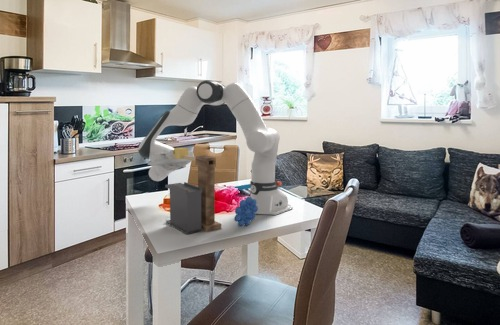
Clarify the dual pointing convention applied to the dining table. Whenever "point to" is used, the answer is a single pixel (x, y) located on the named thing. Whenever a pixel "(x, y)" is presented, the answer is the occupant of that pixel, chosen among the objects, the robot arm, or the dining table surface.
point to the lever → (244, 187)
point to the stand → (207, 192)
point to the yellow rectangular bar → (182, 154)
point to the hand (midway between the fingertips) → (179, 151)
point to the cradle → (185, 207)
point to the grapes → (246, 211)
